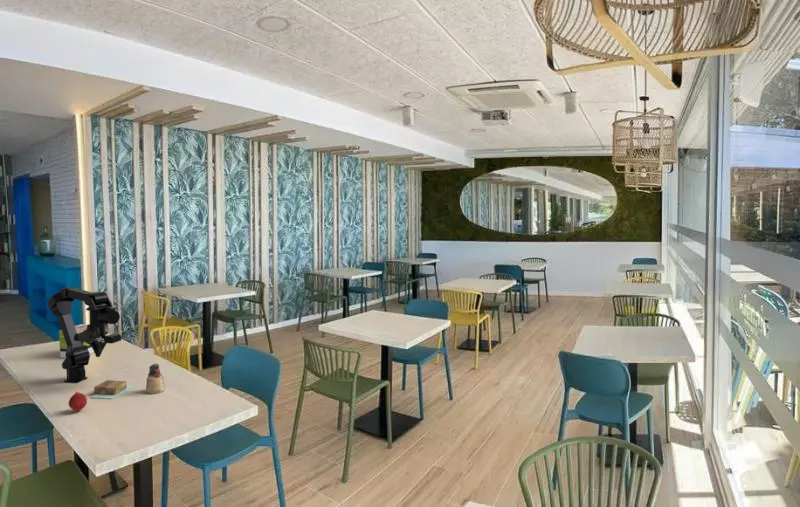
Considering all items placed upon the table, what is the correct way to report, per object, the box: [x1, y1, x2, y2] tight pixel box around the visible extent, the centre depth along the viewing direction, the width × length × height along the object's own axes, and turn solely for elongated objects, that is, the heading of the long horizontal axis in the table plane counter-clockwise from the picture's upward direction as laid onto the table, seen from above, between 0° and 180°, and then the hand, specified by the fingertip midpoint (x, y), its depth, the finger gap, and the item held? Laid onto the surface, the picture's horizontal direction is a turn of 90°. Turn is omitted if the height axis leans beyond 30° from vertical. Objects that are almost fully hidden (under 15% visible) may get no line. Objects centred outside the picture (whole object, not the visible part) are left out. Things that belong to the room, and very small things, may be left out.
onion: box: [68, 390, 88, 412], centre depth 185 cm, size 6×6×8 cm
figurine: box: [145, 363, 166, 395], centre depth 207 cm, size 7×7×12 cm
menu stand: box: [93, 380, 127, 395], centre depth 205 cm, size 3×8×9 cm
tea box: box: [58, 323, 95, 359], centre depth 256 cm, size 15×10×15 cm, turn 172°
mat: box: [90, 385, 134, 400], centre depth 205 cm, size 9×14×1 cm, turn 175°
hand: (98, 356), depth 211 cm, fingers closed
